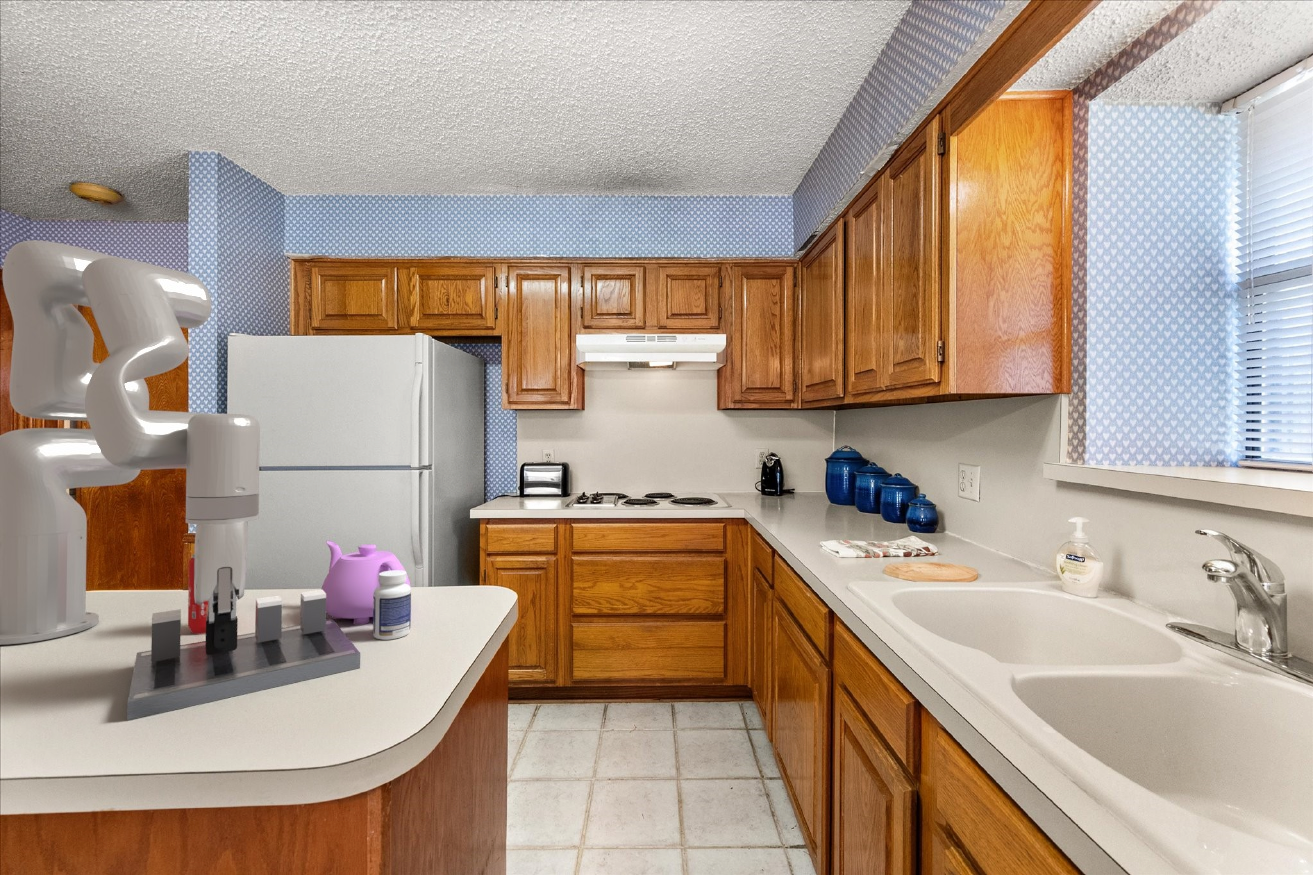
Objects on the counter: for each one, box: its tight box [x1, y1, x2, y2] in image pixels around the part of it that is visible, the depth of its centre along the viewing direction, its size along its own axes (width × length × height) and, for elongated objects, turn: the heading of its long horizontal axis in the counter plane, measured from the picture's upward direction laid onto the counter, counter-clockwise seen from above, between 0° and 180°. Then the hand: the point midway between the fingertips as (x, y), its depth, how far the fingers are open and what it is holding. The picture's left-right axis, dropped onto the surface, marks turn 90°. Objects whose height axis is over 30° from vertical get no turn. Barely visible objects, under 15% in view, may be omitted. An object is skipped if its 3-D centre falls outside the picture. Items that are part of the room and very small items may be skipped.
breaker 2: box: [254, 595, 283, 643], centre depth 81 cm, size 3×3×5 cm
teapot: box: [320, 540, 412, 626], centre depth 100 cm, size 20×14×12 cm
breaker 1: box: [150, 609, 182, 662], centre depth 74 cm, size 3×3×5 cm
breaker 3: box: [299, 589, 327, 634], centre depth 84 cm, size 3×3×5 cm
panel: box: [126, 618, 361, 721], centre depth 76 cm, size 18×23×2 cm
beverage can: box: [187, 554, 208, 635], centre depth 91 cm, size 5×5×12 cm
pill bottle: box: [372, 570, 412, 641], centre depth 90 cm, size 5×5×10 cm
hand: (221, 650), depth 74 cm, fingers closed
